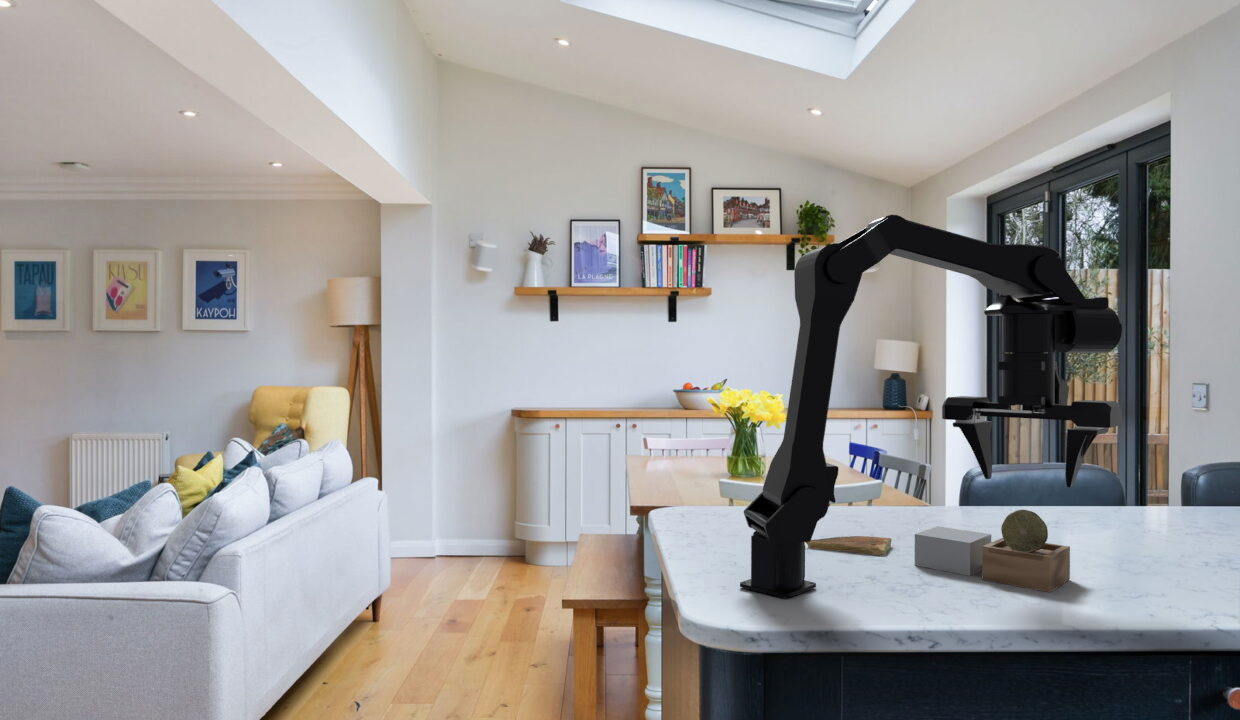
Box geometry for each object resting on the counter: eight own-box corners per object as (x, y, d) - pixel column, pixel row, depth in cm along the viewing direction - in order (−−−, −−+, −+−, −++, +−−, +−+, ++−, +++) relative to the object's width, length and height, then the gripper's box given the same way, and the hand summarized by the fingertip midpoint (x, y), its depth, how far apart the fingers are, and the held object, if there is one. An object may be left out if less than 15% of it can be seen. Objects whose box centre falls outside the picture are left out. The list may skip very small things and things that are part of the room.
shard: (804, 551, 114) (804, 538, 114) (817, 540, 121) (817, 528, 121) (884, 560, 109) (884, 547, 109) (893, 548, 116) (893, 535, 116)
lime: (1053, 556, 96) (1054, 513, 96) (1012, 555, 96) (1013, 513, 96) (1034, 547, 100) (1035, 506, 100) (995, 547, 100) (995, 506, 100)
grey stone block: (969, 575, 100) (970, 542, 99) (914, 565, 104) (914, 534, 104) (991, 565, 104) (991, 534, 104) (937, 555, 109) (937, 526, 109)
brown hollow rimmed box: (1049, 592, 92) (1049, 557, 92) (982, 579, 98) (982, 546, 98) (1069, 579, 98) (1069, 546, 98) (1004, 568, 103) (1004, 536, 103)
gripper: (1134, 353, 97) (1133, 483, 97) (974, 353, 110) (974, 468, 110) (1109, 352, 89) (1108, 495, 89) (940, 353, 102) (940, 477, 102)
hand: (1027, 482), depth 98 cm, fingers open, 9 cm apart
